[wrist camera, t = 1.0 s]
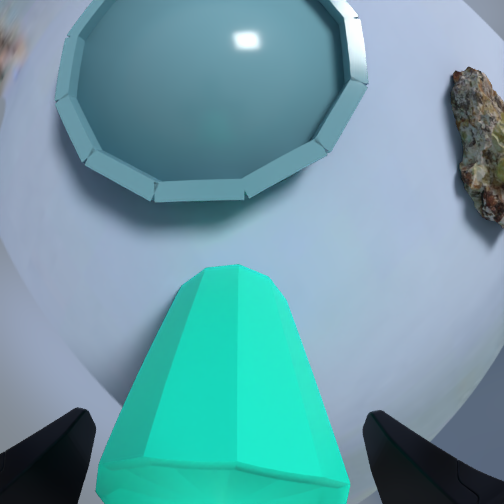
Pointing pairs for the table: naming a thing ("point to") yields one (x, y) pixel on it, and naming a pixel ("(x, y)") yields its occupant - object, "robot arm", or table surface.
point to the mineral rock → (480, 141)
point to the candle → (224, 406)
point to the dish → (209, 92)
